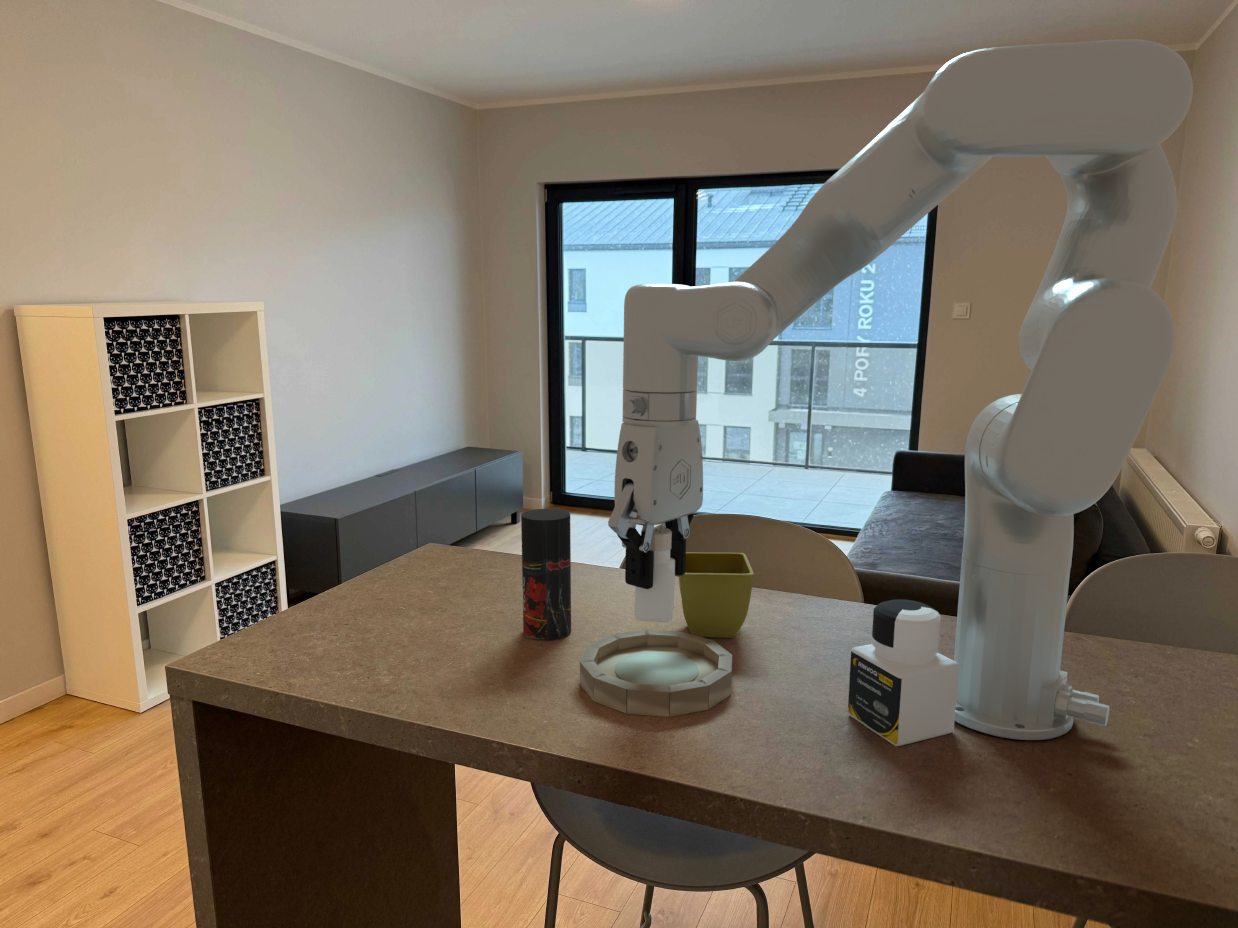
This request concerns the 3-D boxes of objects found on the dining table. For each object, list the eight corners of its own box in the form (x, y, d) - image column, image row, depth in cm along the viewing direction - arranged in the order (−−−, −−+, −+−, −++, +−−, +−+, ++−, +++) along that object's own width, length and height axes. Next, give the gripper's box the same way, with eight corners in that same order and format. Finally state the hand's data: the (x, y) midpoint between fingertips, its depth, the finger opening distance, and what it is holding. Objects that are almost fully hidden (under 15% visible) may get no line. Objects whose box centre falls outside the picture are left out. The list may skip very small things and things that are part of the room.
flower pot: (752, 645, 100) (754, 573, 99) (679, 644, 101) (680, 572, 99) (743, 619, 109) (745, 552, 107) (675, 618, 109) (676, 551, 108)
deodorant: (580, 633, 104) (579, 515, 101) (537, 644, 101) (536, 522, 98) (556, 619, 109) (554, 506, 106) (514, 628, 105) (512, 512, 103)
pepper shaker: (674, 611, 91) (676, 526, 89) (672, 624, 87) (674, 536, 86) (637, 609, 92) (638, 525, 90) (634, 622, 88) (635, 534, 86)
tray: (758, 675, 92) (759, 653, 91) (675, 731, 80) (675, 706, 79) (641, 640, 102) (642, 620, 101) (551, 685, 89) (551, 662, 89)
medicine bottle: (846, 714, 83) (852, 599, 81) (902, 701, 86) (910, 589, 84) (895, 748, 77) (904, 623, 75) (955, 733, 80) (965, 612, 77)
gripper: (638, 418, 77) (634, 608, 80) (734, 404, 90) (728, 567, 93) (576, 412, 81) (575, 591, 84) (676, 399, 94) (672, 555, 98)
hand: (655, 577), depth 89 cm, fingers closed on pepper shaker, 5 cm apart
